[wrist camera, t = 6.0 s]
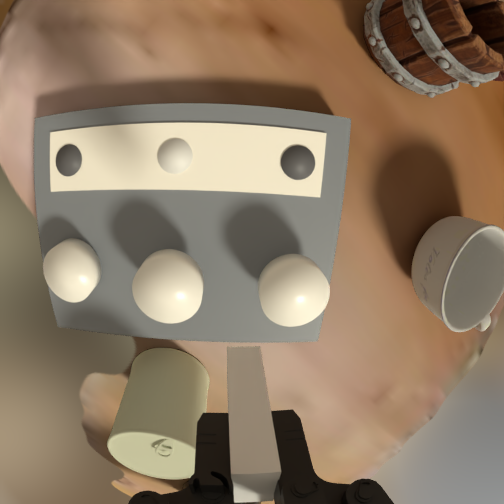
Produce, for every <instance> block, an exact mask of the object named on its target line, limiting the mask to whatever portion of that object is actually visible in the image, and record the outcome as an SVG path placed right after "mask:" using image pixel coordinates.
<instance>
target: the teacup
mask: <svg viewBox="0 0 504 504" xmlns="http://www.w3.org/2000/svg"><path fill="white" fill-rule="evenodd" d="M412 282H413V287H414V290H415V292H416V294H417V296H418V298H419V299H420V300H421V302H422V303H423V304H424V305H425V306H426V307H427V308H428V309H429V310H430V311H431V312H432V313H433V314H435V315H436V316H437V317H438V318H439V319H441V320H442V321H443V322H444V324H445V325H446V326H447V327H448V328H449V329H450V330H452V331H454V332H464V331H467V330H470V329H472V328H473V327H475V328H476V329H477V330H479V331H484V330H486V329H487V328H488V326H489V325H490V323H491V318H490V315H489V314H490V312H491V311H492V310H493V309H494V307H495V305H496V304H497V302H498V301H499V299H500V297H501V295H502V293H503V291H504V231H503V230H502V229H501V228H499V227H498V226H495V225H488V224H485V223H482V222H480V221H476V220H473V219H470V218H466V217H461V216H451V217H446V218H444V219H441V220H439V221H437V222H436V223H434V224H433V225H432V226H431V227H430V228H429V229H428V230H427V231H426V233H425V234H424V235H423V237H422V238H421V240H420V242H419V244H418V246H417V248H416V251H415V254H414V257H413V262H412Z"/></svg>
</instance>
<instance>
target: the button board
mask: <svg viewBox="0 0 504 504" xmlns="http://www.w3.org/2000/svg"><path fill="white" fill-rule="evenodd" d="M350 128H351V119H350V118H344V117H339V116H333V115H327V114H321V113H314V112H307V111H300V110H292V109H283V108H274V107H263V106H250V105H235V104H209V103H168V104H143V105H128V106H116V107H105V108H96V109H88V110H81V111H74V112H67V113H61V114H55V115H49V116H44V117H39V118H35V127H34V184H35V201H36V212H37V222H38V230H39V238H40V245H41V252H42V258H43V262H44V258H45V256H46V254H47V253H48V252H49V251H50V250H51V249H52V248H54V247H55V246H56V245H58V244H59V243H61V242H62V241H64V240H66V239H69V238H75V239H80V240H82V241H84V242H86V243H87V244H88V245H90V246H91V247H92V249H93V250H94V251H95V252H96V254H97V256H98V258H99V260H100V264H101V278H100V281H99V283H98V284H97V286H96V287H95V288H94V289H93V291H92V292H91V293H90V294H89V296H88V297H87V298H86V299H84V300H83V301H80V302H68V301H65V300H63V299H61V298H60V297H58V296H57V295H56V294H55V293H54V292H53V291H52V290H51V289H50V287H49V286H48V288H49V293H50V298H51V301H52V306H53V310H54V313H55V317H56V321H57V325H58V327H63V328H70V329H76V330H83V331H91V332H99V333H107V334H115V335H125V336H135V337H145V338H158V339H171V340H188V341H209V342H256V343H267V342H314V341H318V338H319V334H320V329H321V325H322V320H323V315H324V310H325V309H324V310H323V311H322V313H321V314H320V315H319V316H318V317H316V318H315V319H314V320H312V321H310V322H309V323H306V324H304V325H300V326H294V327H287V326H282V325H279V324H276V323H274V322H273V321H271V320H270V319H269V318H268V317H267V316H266V315H265V313H264V312H263V309H262V306H261V302H260V297H259V293H258V280H259V277H260V274H261V272H262V271H263V269H264V268H265V267H266V265H267V264H269V263H270V262H271V261H272V260H274V259H276V258H277V257H280V256H283V255H287V254H300V255H303V256H306V257H308V258H310V259H311V260H313V261H314V262H315V263H316V265H317V266H318V267H319V269H320V270H321V272H322V273H323V274H324V276H325V277H326V279H327V281H328V284H329V285H330V280H331V274H332V269H333V263H334V257H335V251H336V245H337V239H338V232H339V226H340V219H341V211H342V204H343V196H344V188H345V180H346V171H347V161H348V151H349V140H350ZM164 249H173V250H178V251H181V252H184V253H186V254H187V255H189V256H190V257H192V258H193V259H194V260H195V261H196V262H197V264H198V265H199V266H200V268H201V270H202V273H203V277H204V288H203V295H202V301H201V305H200V307H199V309H198V311H197V312H196V313H195V314H194V315H193V316H192V317H191V318H189V319H187V320H185V321H183V322H180V323H173V324H171V323H162V322H159V321H156V320H154V319H152V318H150V317H148V316H147V315H146V314H144V313H143V312H142V311H141V309H140V308H139V307H138V305H137V304H136V302H135V300H134V297H133V292H132V283H133V279H134V277H135V275H136V273H137V271H138V270H139V268H140V267H141V265H142V264H143V262H144V261H145V259H146V258H147V257H148V256H150V255H151V254H153V253H154V252H157V251H159V250H164Z"/></svg>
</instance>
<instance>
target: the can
mask: <svg viewBox="0 0 504 504" xmlns="http://www.w3.org/2000/svg"><path fill="white" fill-rule="evenodd" d="M208 388H209V375H208V373H207V371H206V369H205V367H204V366H203V365H202V364H201V363H200V362H199V361H198V360H197V359H196V358H194V357H193V356H191V355H189V354H187V353H185V352H183V351H180V350H177V349H172V348H152V349H149V350H146V351H144V352H142V353H140V354H139V355H138V356H137V357H136V358H135V359H134V361H133V363H132V367H131V373H130V376H129V379H128V383H127V386H126V389H125V392H124V395H123V398H122V401H121V404H120V407H119V410H118V413H117V416H116V419H115V422H114V425H113V428H112V431H111V434H110V437H109V439H108V441H107V447H108V450H109V452H110V453H111V455H112V456H113V457H114V458H115V459H116V460H117V461H118V462H120V463H121V464H123V465H124V466H126V467H128V468H129V469H131V470H133V471H136V472H138V473H141V474H144V475H147V476H151V477H155V478H161V479H185V478H190V477H191V476H192V475H193V474H194V470H195V450H196V435H197V434H196V432H197V422H198V420H199V418H200V417H201V415H202V414H203V413H206V409H207V392H208Z"/></svg>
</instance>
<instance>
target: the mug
mask: <svg viewBox="0 0 504 504" xmlns="http://www.w3.org/2000/svg"><path fill="white" fill-rule="evenodd" d="M366 9H367V10H366V12H365V15H364V23H365V25H363V28H364V39H365V41H366V44H367V46H368V49H369V51H370V54H371V56H372V57H373V59H374V60H375V61H376V63H377V64H378V65H379V67H380V68H384V69H385V71H386V73H385V74H386V75H388V76H389V77H390V78H391V79H392V80H393V81H395V82H396V83H397V84H399V85H401V86H403V87H405V88H407V89H410V90H412V91H414V92H416V93H418V94H425V95H428V96H429V97H431V98H432V97H434V96H435V95H438V94H442V93H444V92H447V91H449V90H452V89H454V88H458V86H459V84H458V83H459V82H463V83H468V84H471V85H472V86H473V87H478V86H479V85H480V84H481V83H485V82H488V81H490V80H495V81H504V2H502V1H498V0H372V1H371V2H370V3H368V4H367V5H366Z"/></svg>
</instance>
